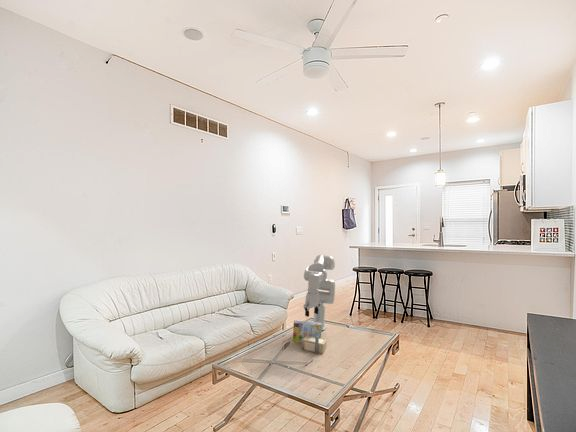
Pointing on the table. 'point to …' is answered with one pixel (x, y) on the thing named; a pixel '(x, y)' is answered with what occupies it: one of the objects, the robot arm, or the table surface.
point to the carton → (311, 340)
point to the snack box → (305, 330)
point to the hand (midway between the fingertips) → (311, 314)
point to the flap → (311, 345)
